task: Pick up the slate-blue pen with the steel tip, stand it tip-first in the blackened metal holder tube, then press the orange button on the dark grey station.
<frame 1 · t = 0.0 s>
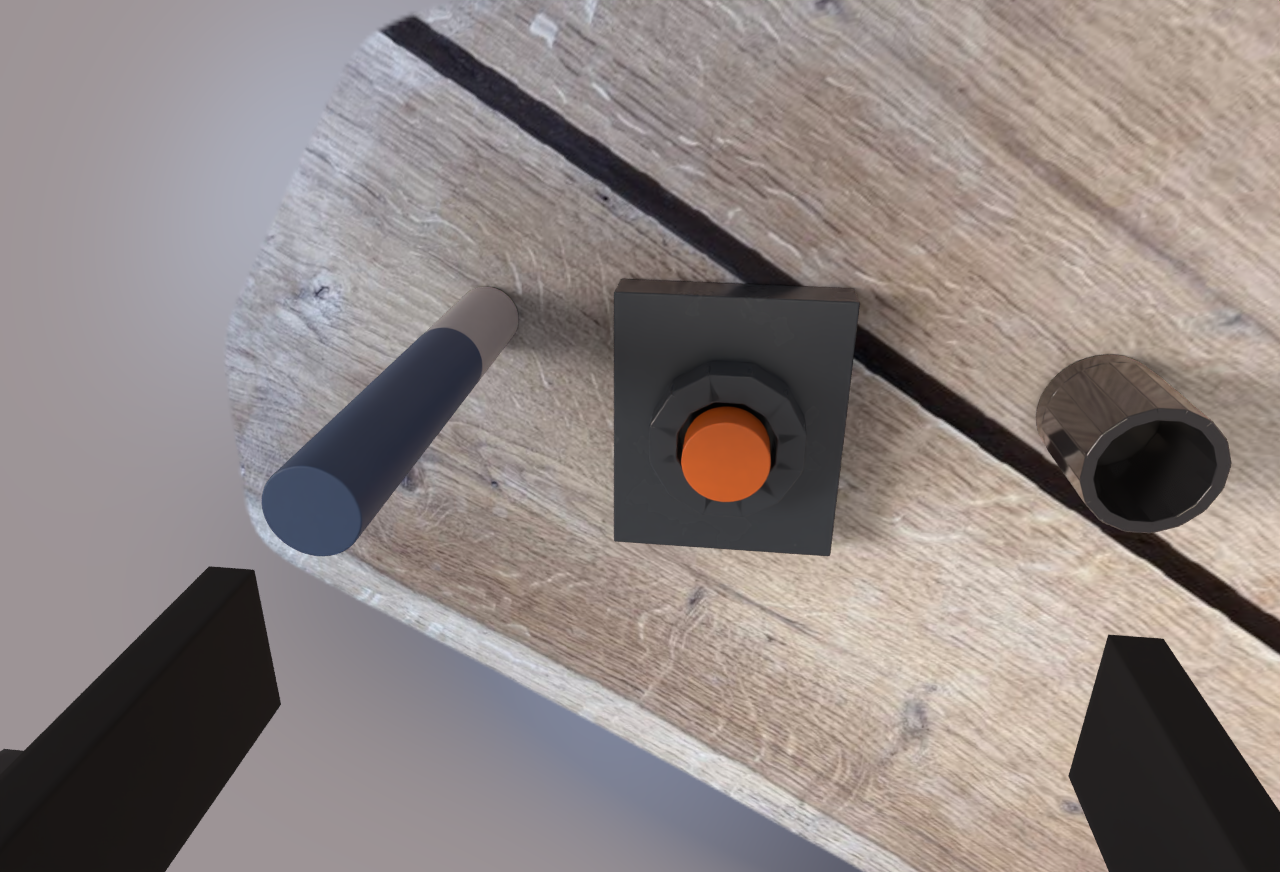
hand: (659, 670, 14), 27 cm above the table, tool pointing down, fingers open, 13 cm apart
button: (726, 454, 37), point 4 cm above the table, slide at 0.1 cm
pen: (488, 316, 40), on the table
holder: (1098, 410, 39), on the table
station: (728, 411, 41), on the table
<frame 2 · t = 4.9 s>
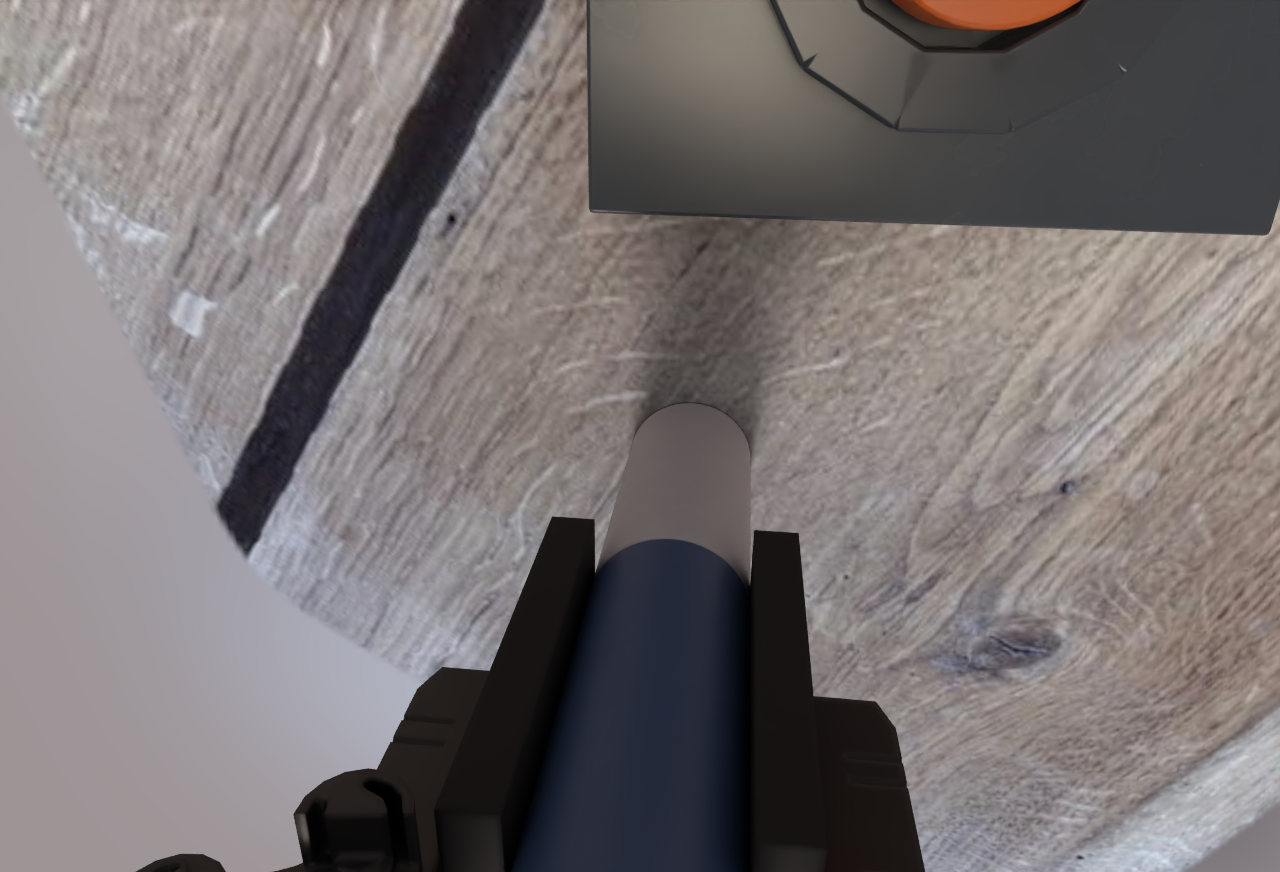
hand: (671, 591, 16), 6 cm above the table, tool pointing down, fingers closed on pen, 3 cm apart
pen: (690, 457, 21), on the table, touching gripper
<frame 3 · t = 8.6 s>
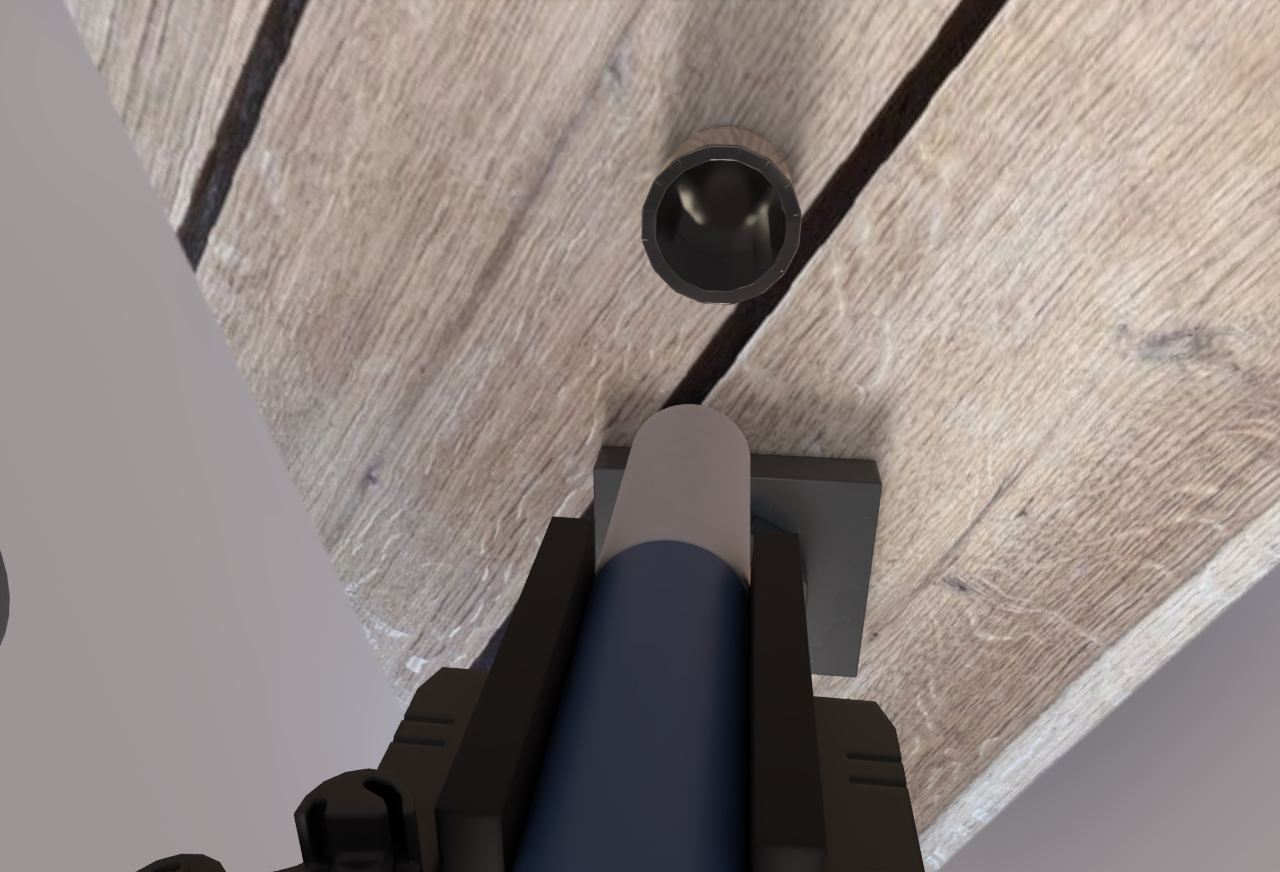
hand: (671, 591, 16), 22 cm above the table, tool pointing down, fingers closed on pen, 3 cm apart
button: (728, 607, 37), point 4 cm above the table, slide at 0.1 cm
pen: (690, 458, 21), point 17 cm above the table, touching gripper
holder: (724, 196, 35), on the table
station: (730, 550, 41), on the table
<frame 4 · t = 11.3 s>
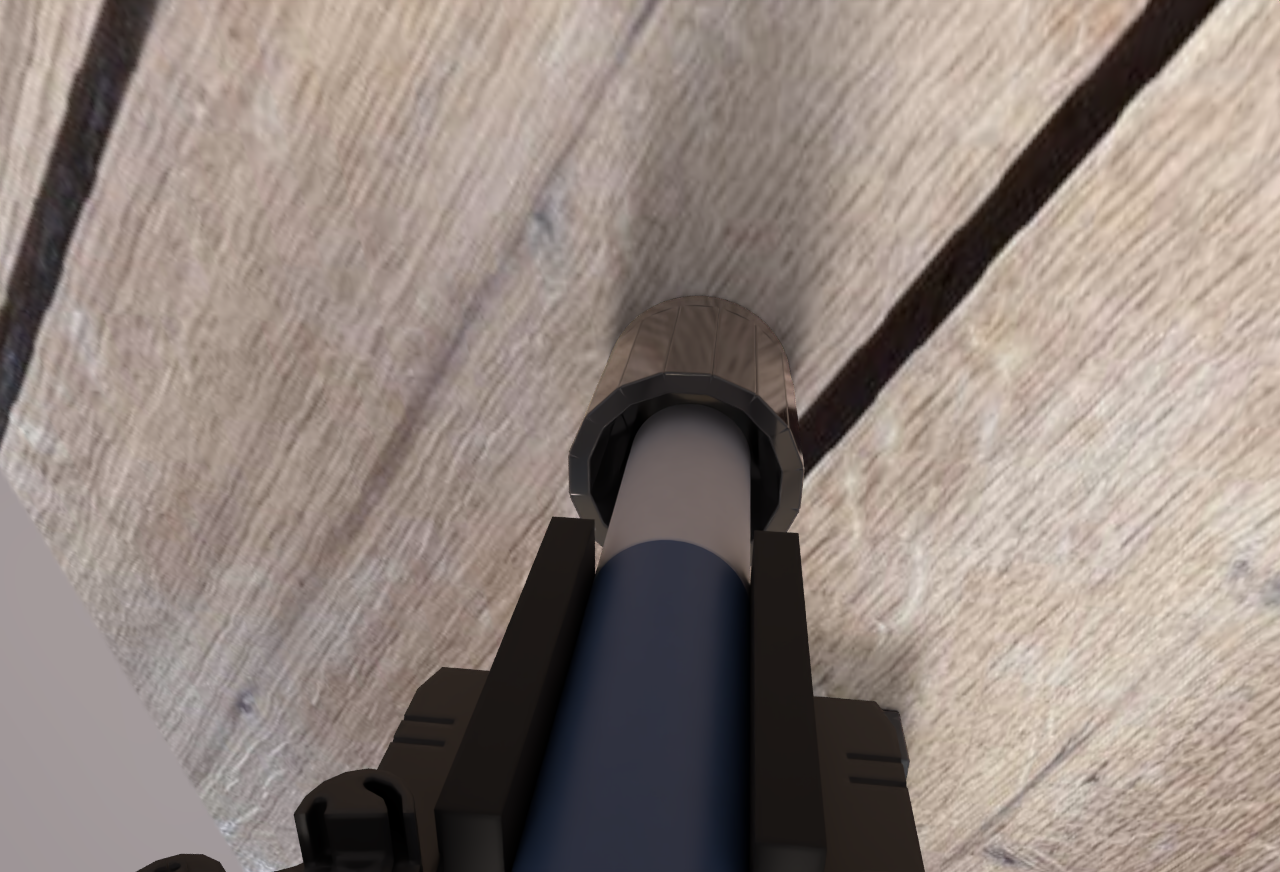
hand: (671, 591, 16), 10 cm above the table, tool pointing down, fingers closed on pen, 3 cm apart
pen: (690, 457, 21), point 5 cm above the table, touching gripper
holder: (697, 385, 25), on the table
station: (708, 806, 32), on the table
when the fingers open (7 cm above the table, at t = 12.7 s): pen stays where it is, resting on holder.
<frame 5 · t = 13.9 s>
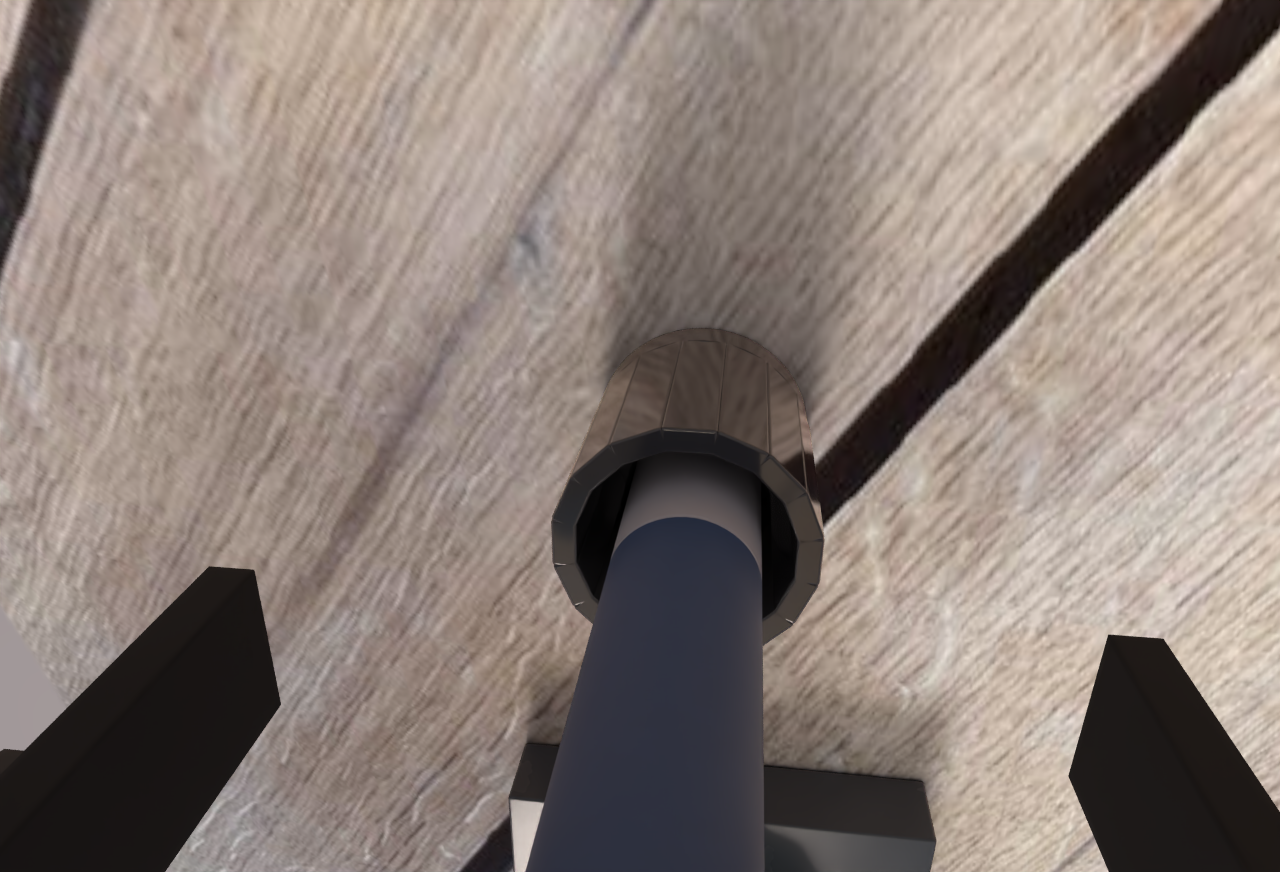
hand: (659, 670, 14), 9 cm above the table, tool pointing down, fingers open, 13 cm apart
pen: (702, 443, 22), point 1 cm above the table, touching holder
holder: (702, 426, 23), on the table
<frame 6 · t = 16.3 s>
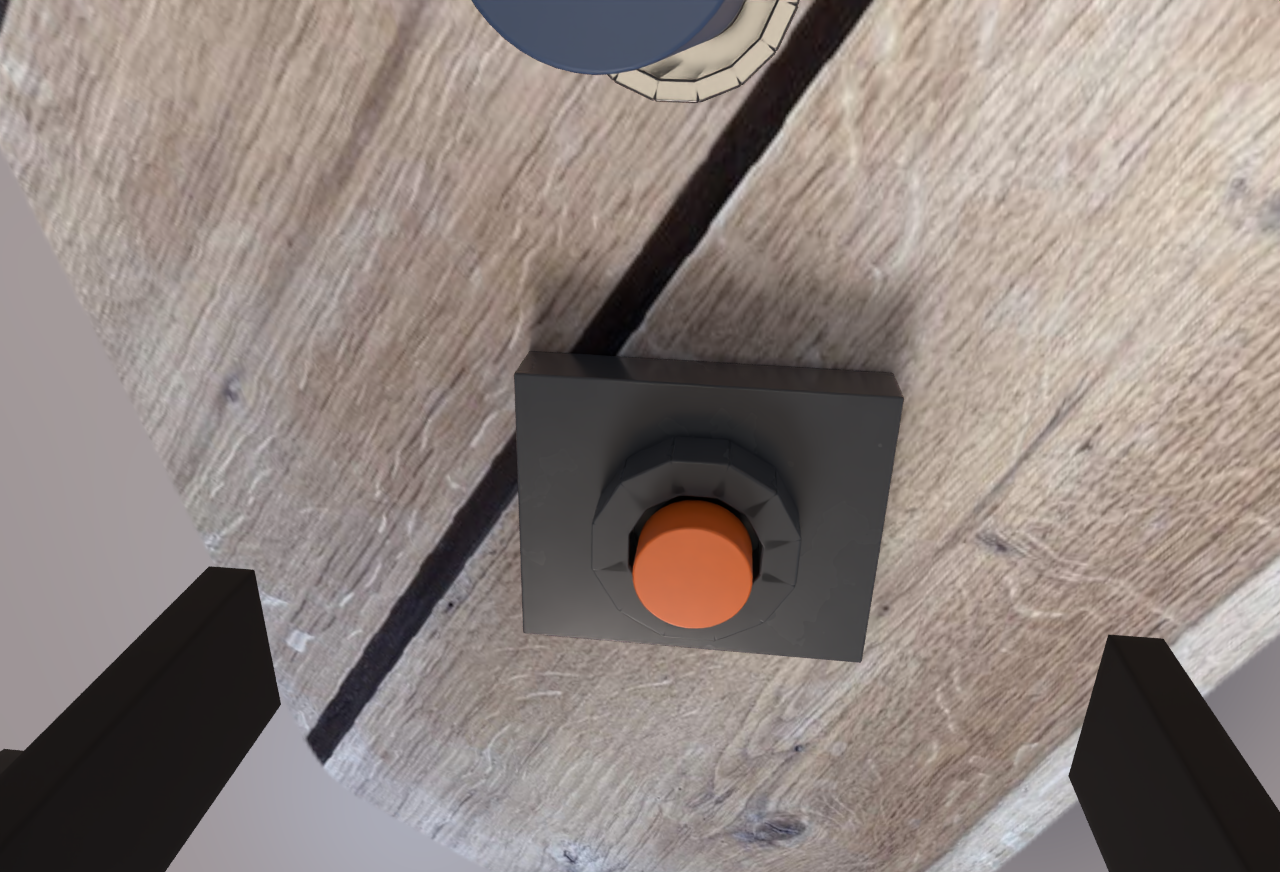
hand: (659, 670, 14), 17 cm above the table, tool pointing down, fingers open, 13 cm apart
button: (693, 564, 28), point 4 cm above the table, slide at 0.1 cm
station: (699, 494, 32), on the table
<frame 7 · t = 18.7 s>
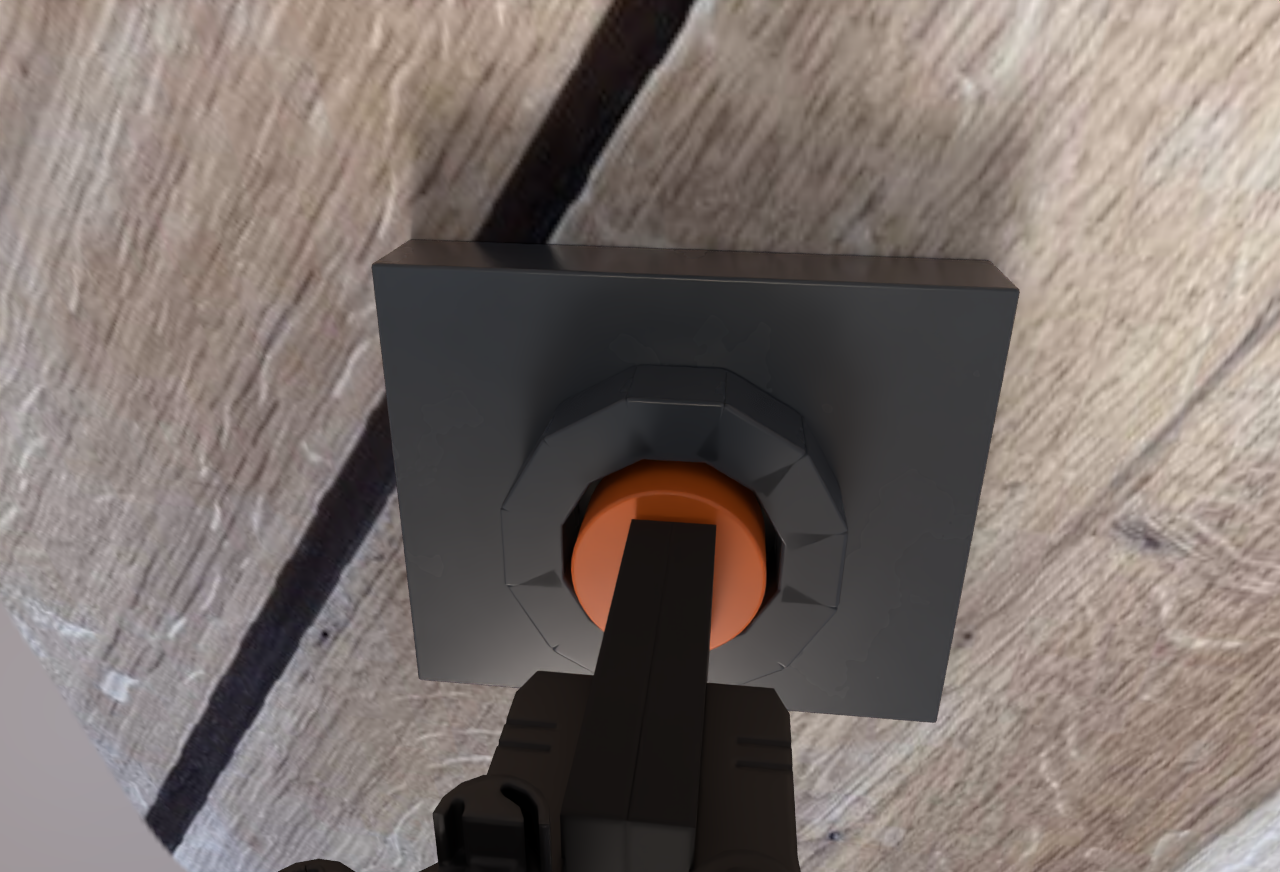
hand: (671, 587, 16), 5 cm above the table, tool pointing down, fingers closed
button: (670, 552, 17), point 4 cm above the table, slide at -0.6 cm, touching gripper
station: (683, 465, 21), on the table
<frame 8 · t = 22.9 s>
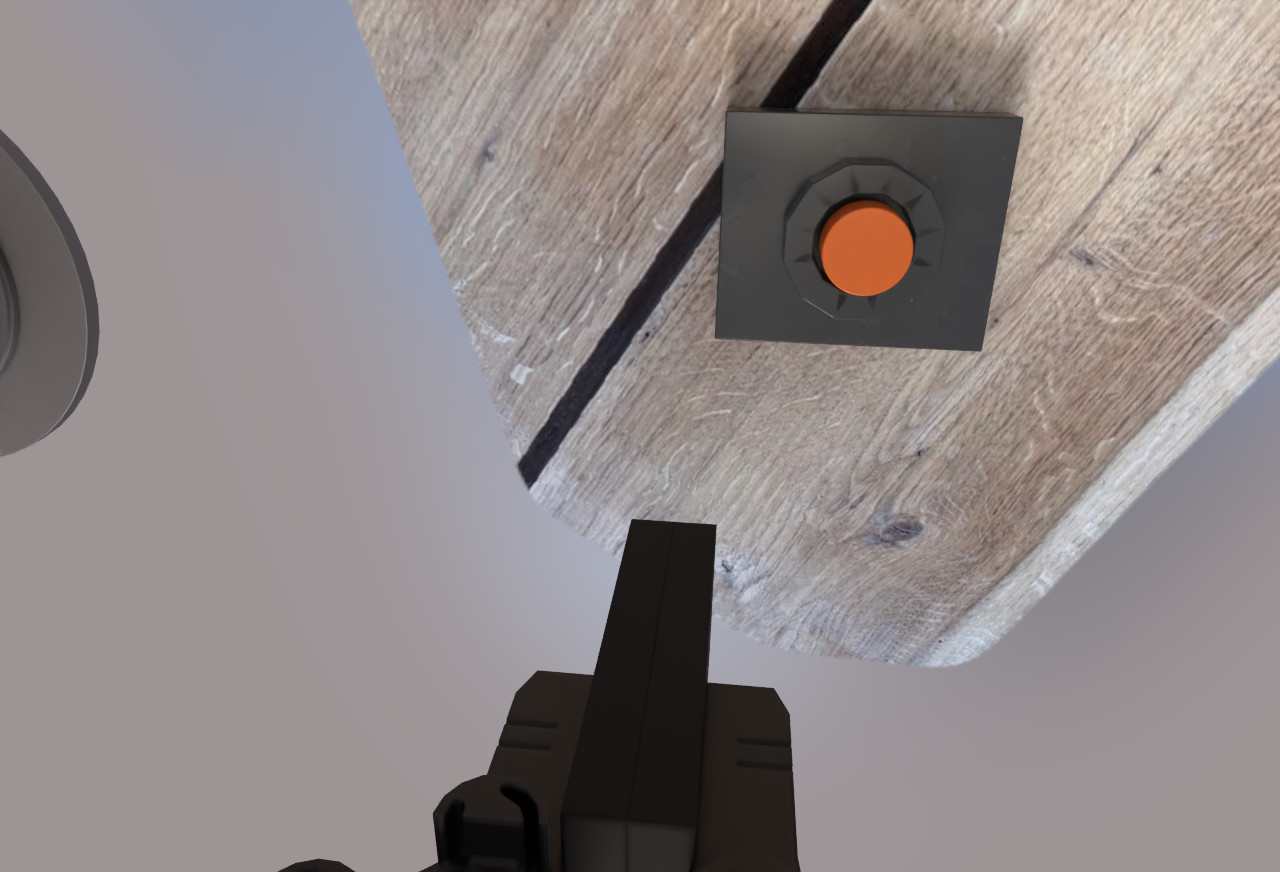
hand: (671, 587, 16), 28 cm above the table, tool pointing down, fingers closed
button: (864, 247, 37), point 4 cm above the table, slide at 0.1 cm
station: (853, 225, 41), on the table
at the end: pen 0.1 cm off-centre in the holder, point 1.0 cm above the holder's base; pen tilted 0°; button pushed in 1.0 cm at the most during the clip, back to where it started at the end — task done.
